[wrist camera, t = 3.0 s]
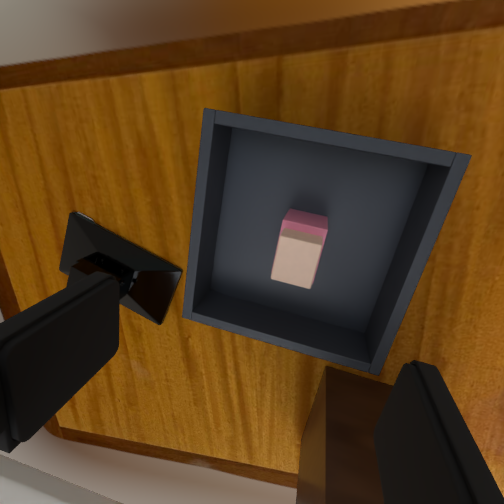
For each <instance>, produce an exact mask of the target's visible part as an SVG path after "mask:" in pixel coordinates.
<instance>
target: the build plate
mask: <svg viewBox="0 0 504 504" xmlns="http://www.w3.org/2000/svg"><path fill="white" fill-rule="evenodd" d="M59 270H60V271H61V272H63V273H65V274H67V275H69V277H68V282H67V287H68V286H70V285H72V284H74V283H76V282H77V281H79V280H81V279H83V278H85V277H87V276H88V275H90V274H92V273H94V272H97V271H99V272H103V273H106V274H110V275H113V276H115V278H116V281H118V282H119V285H120V293H119V303H120V304H121V305H123V306H125V307H127V308H129V309H131V310H132V311H134V312H136V313H138V314H140V315H142V316H143V317H145V318H147V319H149V320H151V321H153V322H154V323H156V324H158V325H161V324H162V323H163V321H164V318H165V315H166V313H167V310H168V308H169V305H170V303H171V300H172V297H173V295H174V292H175V290H176V287H177V285H178V282H179V279H180V277H181V274H182V269H180V268H178V267H177V266H175V265H173V264H171V263H169V262H167V261H165V260H163V259H161V258H160V257H158V256H156V255H154V254H152V253H150V252H148V251H146V250H145V249H143V248H141V247H139V246H137V245H135V244H133V243H131V242H129V241H128V240H126V239H124V238H122V237H120V236H118V235H116V234H114V233H113V232H111V231H109V230H107V229H105V228H103V227H101V226H99V225H97V224H96V223H95V222H94V220H93V219H91V218H89V217H88V216H86V215H84V214H82V213H80V212H72V213H70V214H69V219H68V225H67V230H66V235H65V240H64V246H63V251H62V256H61V262H60V267H59Z"/></svg>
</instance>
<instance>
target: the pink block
mask: <svg viewBox="0 0 504 504" xmlns="http://www.w3.org/2000/svg"><path fill="white" fill-rule="evenodd" d="M327 232H328V217H326V216H322V215H317V214H313V213H308V212H304V211H299V210H295V209H289V210H288V212H287V214H286V215H285V217H284V219H283V221H282V225H281V230H280V235H279V239H278V244H277V248H276V253H275V257H274V262H273V267H272V271H271V273H272V274H271V279H273V280H277V281H281V282H285V283H288V284H292V285H296V286H300V287H304V288H307V289H310V288H311V285H312V284H313V282H314V278H315V275H316V271H317V268H318V264H319V260H320V257H321V253H322V250H323V246H324V242H325V239H326V235H327Z"/></svg>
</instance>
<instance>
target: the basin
mask: <svg viewBox="0 0 504 504" xmlns="http://www.w3.org/2000/svg"><path fill="white" fill-rule="evenodd" d="M471 156H472V155H469V154H463V153H456V152H452V151H446V150H440V149H435V148H429V147H423V146H418V145H412V144H406V143H401V142H395V141H389V140H384V139H378V138H372V137H367V136H361V135H355V134H350V133H344V132H338V131H333V130H327V129H321V128H316V127H310V126H304V125H299V124H293V123H287V122H282V121H276V120H270V119H265V118H259V117H253V116H248V115H242V114H236V113H231V112H225V111H219V110H214V109H208V108H204V111H203V121H202V131H201V140H200V150H199V160H198V169H197V179H196V189H195V198H194V208H193V218H192V227H191V237H190V247H189V256H188V266H187V276H186V285H185V295H184V305H183V314H182V317H183V318H186V319H189V320H192V321H196V322H199V323H203V324H206V325H209V326H213V327H216V328H219V329H223V330H226V331H229V332H233V333H236V334H240V335H243V336H246V337H250V338H253V339H256V340H260V341H263V342H266V343H270V344H273V345H277V346H280V347H283V348H287V349H290V350H293V351H297V352H300V353H303V354H307V355H310V356H314V357H317V358H320V359H324V360H327V361H330V362H334V363H337V364H340V365H344V366H347V367H351V368H354V369H357V370H361V371H364V372H368V373H371V374H374V375H378V376H379V374H380V372H381V369H382V367H383V365H384V362H385V360H386V357H387V355H388V353H389V350H390V348H391V346H392V343H393V341H394V339H395V336H396V334H397V331H398V329H399V327H400V324H401V322H402V320H403V317H404V315H405V313H406V310H407V308H408V305H409V303H410V301H411V298H412V296H413V294H414V291H415V289H416V287H417V284H418V282H419V279H420V277H421V275H422V272H423V270H424V268H425V265H426V263H427V261H428V258H429V256H430V253H431V251H432V249H433V246H434V244H435V242H436V239H437V237H438V235H439V232H440V230H441V227H442V225H443V223H444V220H445V218H446V216H447V213H448V211H449V209H450V206H451V204H452V201H453V199H454V197H455V194H456V192H457V190H458V187H459V185H460V183H461V180H462V178H463V175H464V173H465V171H466V168H467V166H468V164H469V161H470V159H471ZM289 209H295V210H299V211H304V212H308V213H313V214H317V215H322V216H326V217H328V232H327V235H326V239H325V242H324V246H323V250H322V253H321V257H320V260H319V264H318V268H317V271H316V275H315V278H314V282H313V284H312V285H311V288H310V289H307V288H304V287H300V286H296V285H292V284H288V283H285V282H281V281H277V280H273V279H271V274H272V273H271V271H272V267H273V262H274V257H275V253H276V248H277V244H278V239H279V235H280V230H281V225H282V221H283V219H284V217H285V215H286V214H287V212H288V210H289Z"/></svg>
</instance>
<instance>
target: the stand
mask: <svg viewBox="0 0 504 504" xmlns="http://www.w3.org/2000/svg"><path fill="white" fill-rule="evenodd" d="M392 388H393V386H391V385H388V384H384V383H381V382H378V381H374V380H371V379H368V378H364V377H361V376H358V375H354V374H351V373H348V372H344V371H341V370H338V369H334V368H331V367H328V366H326V367H325V370H324V373H323V376H322V379H321V382H320V385H319V388H318V391H317V394H316V397H315V400H314V403H313V406H312V409H311V412H310V415H309V418H308V421H307V424H306V427H305V430H304V433H303V436H302V439H301V450H300V461H299V473H298V485H297V497H296V504H384V499H383V493H382V487H381V481H380V475H379V469H378V463H377V457H376V451H375V445H374V429H375V426H376V423H377V421H378V419H379V417H380V415H381V413H382V410H383V408H384V406H385V404H386V402H387V399H388V397H389V395H390V393H391V391H392Z"/></svg>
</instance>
